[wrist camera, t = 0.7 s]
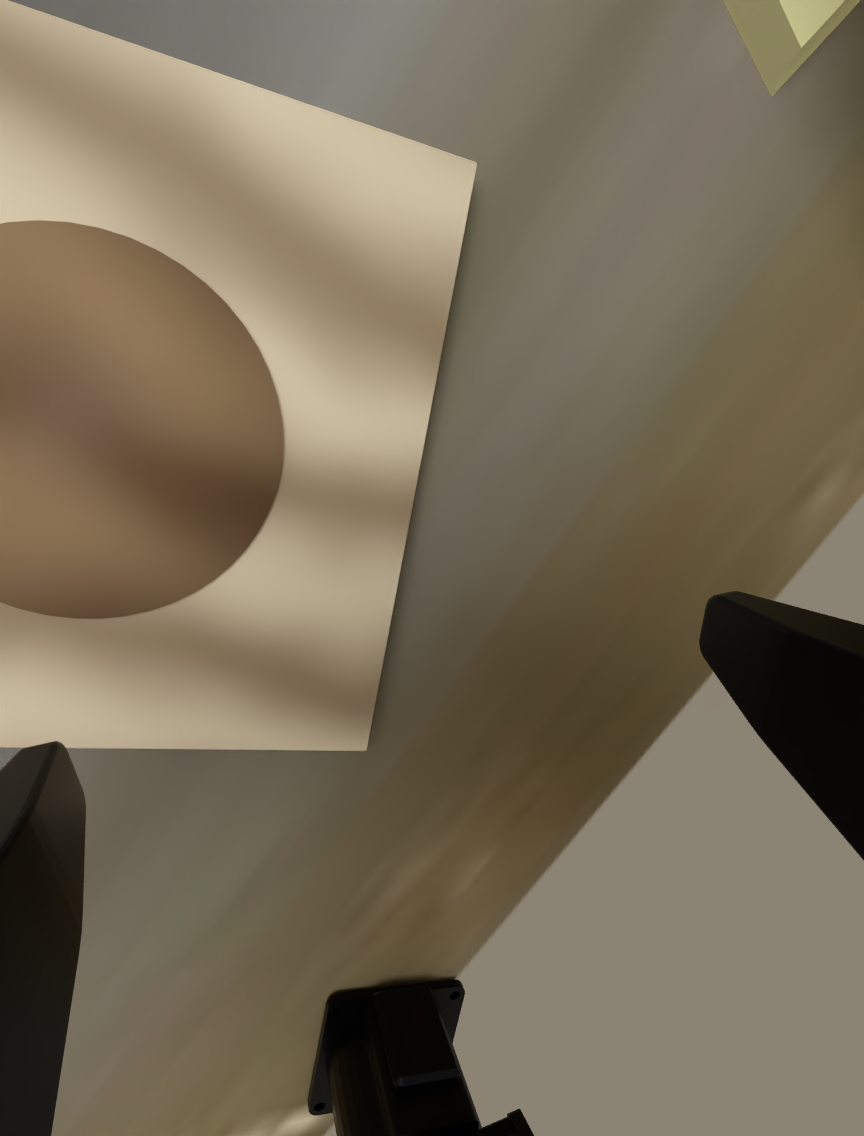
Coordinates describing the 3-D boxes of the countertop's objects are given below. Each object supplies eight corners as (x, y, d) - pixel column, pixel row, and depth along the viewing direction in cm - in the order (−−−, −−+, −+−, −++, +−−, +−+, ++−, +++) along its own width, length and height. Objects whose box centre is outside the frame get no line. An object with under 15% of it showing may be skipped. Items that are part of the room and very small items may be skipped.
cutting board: (358, 730, 26) (367, 753, 24) (-314, 716, 19) (-361, 747, 18) (460, 175, 21) (479, 160, 20) (-376, -105, 14) (-447, -162, 13)
